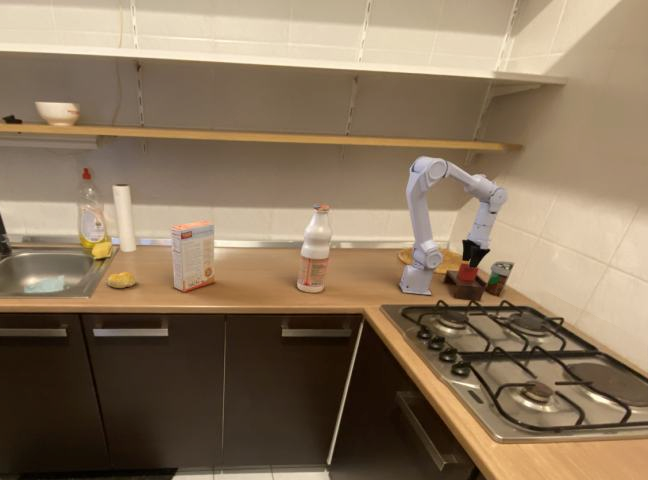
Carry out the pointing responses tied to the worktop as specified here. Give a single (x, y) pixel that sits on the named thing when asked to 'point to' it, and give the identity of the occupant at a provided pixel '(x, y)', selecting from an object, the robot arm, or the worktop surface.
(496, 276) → the food container
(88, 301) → the worktop surface
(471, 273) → the block
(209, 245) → the cracker box
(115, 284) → the bread roll
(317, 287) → the fruit juice
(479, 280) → the dark brown storage bin
